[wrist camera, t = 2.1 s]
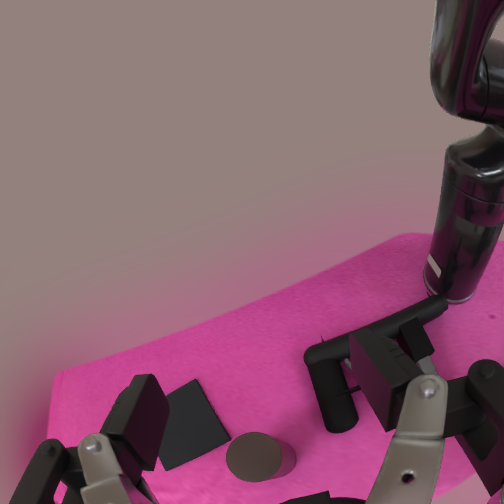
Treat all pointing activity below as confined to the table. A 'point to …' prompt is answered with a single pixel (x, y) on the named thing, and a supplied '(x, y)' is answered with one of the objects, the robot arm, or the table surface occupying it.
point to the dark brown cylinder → (259, 457)
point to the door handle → (338, 349)
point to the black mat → (190, 427)
